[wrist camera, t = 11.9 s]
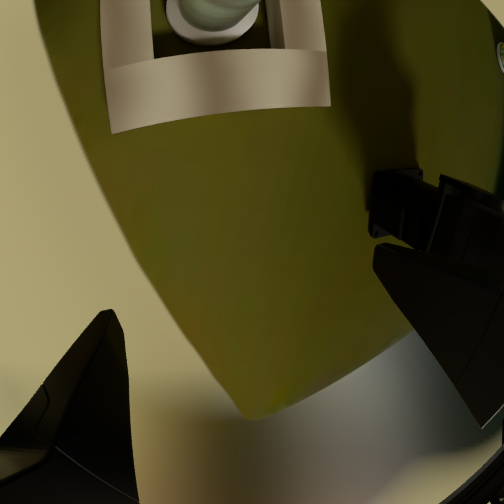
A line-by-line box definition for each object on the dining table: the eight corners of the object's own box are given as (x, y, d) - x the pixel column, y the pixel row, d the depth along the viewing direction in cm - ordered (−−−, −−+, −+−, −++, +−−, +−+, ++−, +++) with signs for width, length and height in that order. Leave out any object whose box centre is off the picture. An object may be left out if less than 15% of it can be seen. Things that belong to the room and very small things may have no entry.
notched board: (299, -20, 14) (314, -31, 12) (313, 105, 20) (330, 106, 17) (106, -9, 11) (100, -22, 9) (118, 131, 17) (111, 134, 15)
